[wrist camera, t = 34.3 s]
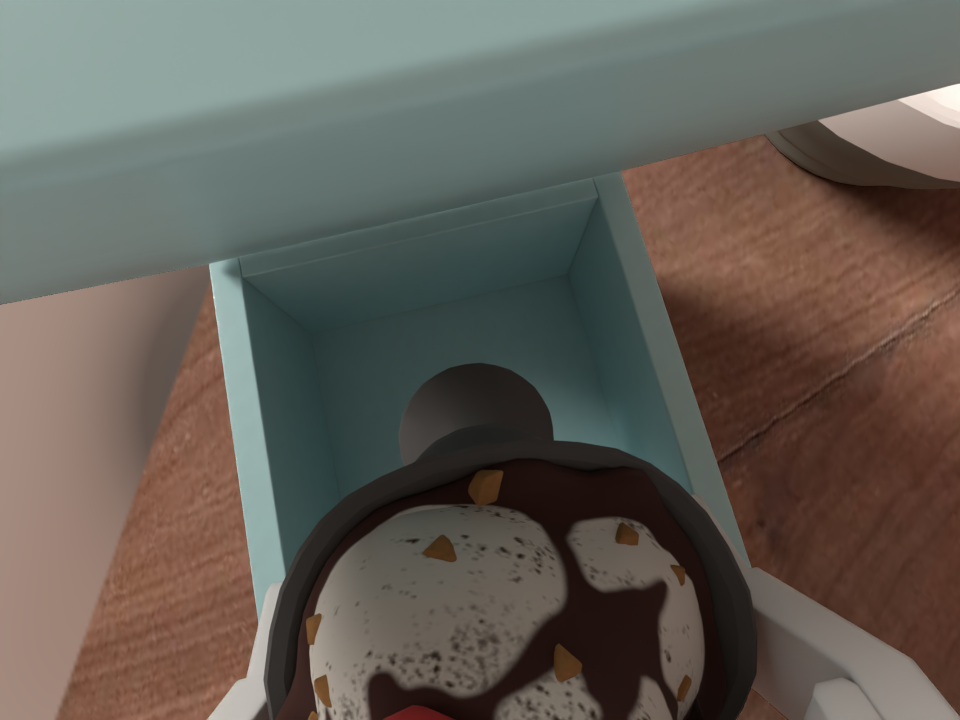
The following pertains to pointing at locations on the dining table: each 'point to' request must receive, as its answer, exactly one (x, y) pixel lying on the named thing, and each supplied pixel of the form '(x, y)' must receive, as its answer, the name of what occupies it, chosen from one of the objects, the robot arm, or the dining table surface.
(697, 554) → the sundae
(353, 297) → the teal wooden box
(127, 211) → the lid
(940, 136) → the bowl
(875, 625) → the dining table surface
